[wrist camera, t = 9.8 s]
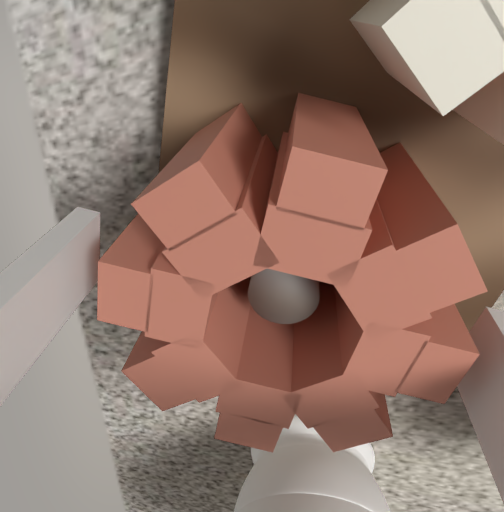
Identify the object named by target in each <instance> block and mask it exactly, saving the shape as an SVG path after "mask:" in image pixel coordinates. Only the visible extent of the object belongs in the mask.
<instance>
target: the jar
mask: <svg viewBox="0 0 504 512" xmlns="http://www.w3.org/2000/svg"><path fill="white" fill-rule="evenodd" d="M251 456H252V460H253V463H254V466H253V467H252V469H251V471H250V472H249V474H248V476H247V477H246V479H245V481H244V483H243V485H242V488H241V490H240V493H239V496H238V498H237V501H236V505H235V508H234V512H390V509H389V506H388V504H387V501H386V499H385V497H384V495H383V492H382V490H381V489H380V487H379V485H378V483H377V481H376V480H375V478H374V477H373V475H372V472H373V468H374V464H375V455H374V451H373V448H372V446H371V444H370V443H367V444H363V445H359V446H355V447H351V448H348V449H344V450H340V451H336V452H333V451H332V450H331V449H330V447H329V446H328V445H327V444H326V443H325V441H324V440H323V439H322V438H321V436H320V435H319V434H318V433H317V432H316V430H315V429H314V428H313V427H312V428H309V429H308V428H307V427H306V426H305V425H304V424H303V422H302V421H301V420H300V419H299V418H298V416H297V415H296V414H295V415H294V417H293V420H292V422H291V425H290V427H289V429H286V428H283V429H282V431H281V434H280V436H279V439H278V441H277V444H276V446H275V449H274V451H273V453H272V452H268V451H264V450H260V449H256V448H252V447H251Z"/></svg>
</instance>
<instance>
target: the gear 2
mask: <svg viewBox="0 0 504 512" xmlns="http://www.w3.org/2000/svg"><path fill="white" fill-rule="evenodd" d="M350 21H351V23H352V24H353V26H354V27H355V28H356V30H357V31H358V33H359V34H360V35H361V37H362V38H363V40H364V41H365V42H366V44H367V45H368V47H369V48H370V49H371V51H372V52H373V54H374V55H375V56H376V58H377V59H378V61H379V62H380V63H381V65H382V66H383V68H384V69H385V71H386V72H387V73H388V74H389V75H391V76H392V77H393V78H395V79H396V80H397V81H398V82H400V83H401V84H402V85H404V86H405V87H406V88H407V89H409V90H410V91H411V92H413V93H414V94H415V95H416V96H418V97H419V98H420V99H422V100H423V101H424V102H425V103H427V104H428V105H429V106H431V107H432V108H433V109H434V110H436V111H437V112H438V113H440V114H441V115H442V116H444V115H446V114H447V113H448V112H450V111H451V110H453V111H455V112H456V113H458V114H459V115H461V116H462V117H464V118H465V119H467V120H468V121H469V122H471V123H472V124H474V125H475V126H477V127H478V128H480V129H481V130H483V131H484V132H486V133H487V134H489V135H490V136H491V137H493V138H494V139H496V140H497V141H499V142H500V143H502V144H503V145H504V0H370V1H369V2H367V3H366V4H365V5H364V6H363V7H362V8H361V9H360V10H359V11H358V12H357V13H356V14H355V15H354V16H353V17H352V18H351V19H350Z"/></svg>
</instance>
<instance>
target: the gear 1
mask: <svg viewBox="0 0 504 512" xmlns="http://www.w3.org/2000/svg"><path fill="white" fill-rule="evenodd" d="M131 205H132V206H133V207H134V208H135V210H136V211H137V212H138V214H137V215H136V217H135V218H134V219H133V220H132V221H131V223H130V224H129V225H128V226H127V227H126V228H125V230H124V231H123V232H122V233H121V234H120V236H119V237H118V238H117V239H116V240H115V242H114V243H113V244H112V245H111V246H110V248H109V249H108V250H107V251H106V252H105V254H104V255H103V256H102V257H101V258H100V259H99V261H98V300H97V320H99V321H103V322H107V323H111V324H115V325H119V326H123V327H128V328H132V329H136V330H140V331H142V332H141V334H140V336H139V338H138V340H137V342H136V344H135V345H134V347H133V349H132V351H131V353H130V355H129V357H128V359H127V361H126V363H125V365H124V367H123V369H122V372H123V373H124V374H125V375H126V376H127V377H128V378H129V379H130V380H131V381H132V382H133V383H134V384H135V385H136V386H137V387H138V388H139V389H140V390H141V391H142V392H143V393H144V394H145V395H146V396H147V397H148V398H149V399H150V400H151V401H152V402H153V403H155V404H156V405H157V406H158V407H159V408H160V409H161V410H162V411H165V410H167V409H170V408H173V407H175V406H178V405H181V404H184V403H186V402H189V401H192V400H194V399H196V400H197V401H198V402H199V403H200V402H202V401H205V400H208V399H211V398H213V397H216V396H219V398H218V402H217V407H216V412H220V414H219V419H218V423H217V428H216V432H215V437H214V439H218V440H222V441H227V442H231V443H235V444H239V445H243V446H247V447H252V448H256V449H260V450H264V451H268V452H272V453H273V451H274V449H275V446H276V444H277V441H278V439H279V436H280V434H281V431H282V429H283V428H286V429H289V427H290V425H291V422H292V420H293V417H294V415H295V414H296V415H297V416H298V418H299V419H300V420H301V421H302V422H303V424H304V425H305V426H306V427H307V428H308V429H309V428H312V427H313V428H314V429H315V430H316V432H317V433H318V434H319V435H320V436H321V438H322V439H323V440H324V441H325V443H326V444H327V445H328V446H329V447H330V449H331V450H332V451H333V452H336V451H340V450H344V449H348V448H351V447H355V446H359V445H363V444H367V443H370V442H374V441H378V440H382V439H385V438H389V437H393V434H392V429H391V424H390V419H389V414H388V409H387V404H386V399H385V395H389V396H393V397H395V396H396V394H397V393H401V394H405V395H409V396H413V397H417V398H421V399H425V400H430V401H434V402H438V403H442V404H445V402H446V401H447V400H448V398H449V397H450V395H451V394H452V393H453V391H454V390H455V388H456V387H457V386H458V384H459V383H460V381H461V380H462V379H463V377H464V376H465V375H466V373H467V372H468V370H469V369H470V368H471V366H472V365H473V363H474V362H475V361H476V359H477V358H478V356H479V355H480V353H479V351H478V349H477V347H476V345H475V343H474V341H473V339H472V337H471V335H470V333H469V331H468V329H467V327H466V325H465V323H464V321H463V319H462V317H461V316H460V314H459V312H458V310H457V308H456V306H455V303H458V302H460V301H463V300H466V299H468V298H471V297H474V296H477V295H479V294H482V293H485V292H487V288H486V286H485V284H484V282H483V279H482V277H481V275H480V273H479V271H478V268H477V266H476V264H475V262H474V259H473V257H472V255H471V253H470V250H469V248H468V246H467V244H466V242H465V239H464V237H463V235H462V233H461V230H460V228H459V226H458V224H457V222H456V221H455V219H454V218H453V217H452V215H451V214H450V212H449V211H448V210H447V208H446V207H445V205H444V204H443V202H442V201H441V200H440V198H439V197H438V195H437V194H436V192H435V191H434V190H433V188H432V187H431V185H430V184H429V183H428V181H427V180H426V178H425V177H424V175H423V174H422V173H421V171H420V170H419V168H418V167H417V166H416V164H415V163H414V161H413V160H412V158H411V157H410V156H409V154H408V153H407V151H406V150H405V148H404V147H403V146H402V144H401V143H400V142H399V143H397V144H396V145H394V146H392V147H390V148H388V149H386V150H384V151H383V152H381V153H379V151H378V149H377V147H376V145H375V143H374V141H373V139H372V137H371V135H370V133H369V131H368V129H367V127H366V125H365V123H364V121H363V119H362V117H361V115H360V113H359V111H358V109H357V107H354V106H350V105H346V104H342V103H338V102H334V101H330V100H326V99H322V98H318V97H314V96H310V95H306V94H302V93H298V97H297V100H296V104H295V108H294V112H293V116H292V120H291V124H290V128H289V132H288V133H287V132H283V134H282V138H281V142H280V146H279V150H278V152H277V151H276V149H275V147H274V146H273V144H272V142H271V141H270V139H269V137H268V136H267V134H266V135H264V136H263V137H262V136H261V134H260V133H259V131H258V129H257V128H256V126H255V124H254V123H253V121H252V120H251V118H250V116H249V115H248V113H247V111H246V110H245V108H244V107H243V105H242V103H240V104H238V105H237V106H235V107H234V108H233V109H231V110H230V111H228V112H227V113H225V114H224V115H222V116H221V117H219V118H218V119H216V120H215V121H213V122H212V123H210V124H209V125H207V126H206V127H204V128H203V129H201V130H200V131H198V132H197V133H195V135H194V136H193V137H192V138H191V139H190V140H189V141H188V142H187V143H186V144H185V145H184V147H183V148H182V149H181V150H180V151H179V152H178V153H177V154H176V155H175V156H174V157H173V159H172V160H171V161H170V162H169V163H168V164H167V165H166V166H165V167H164V168H163V169H162V171H161V172H160V173H159V174H158V175H157V176H156V177H155V178H154V179H153V180H152V181H151V183H150V184H149V185H148V186H147V187H146V188H145V189H144V190H143V191H142V192H141V193H140V195H139V196H138V197H137V198H136V199H135V200H134V201H133V202H132V203H131ZM265 269H271V270H276V271H280V272H284V273H288V274H292V275H296V276H300V277H304V278H308V279H312V280H317V281H319V294H320V299H319V304H318V306H317V308H316V310H315V311H314V312H313V313H312V315H310V316H309V317H308V318H306V319H305V320H302V321H300V322H297V323H293V324H278V323H274V322H270V321H268V320H266V319H264V318H262V317H261V316H260V315H258V314H257V313H256V312H255V311H254V309H253V308H252V306H251V304H250V302H249V299H248V289H249V284H250V280H251V276H252V275H254V274H256V273H259V272H261V271H263V270H265Z"/></svg>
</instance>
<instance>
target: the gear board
mask: <svg viewBox="0 0 504 512" xmlns="http://www.w3.org/2000/svg"><path fill="white" fill-rule="evenodd" d="M369 1H370V0H175V2H174V13H173V24H172V34H171V45H170V56H169V67H168V77H167V88H166V99H165V109H164V120H163V131H162V142H161V152H160V163H159V173H160V172H161V171H162V169H163V168H164V167H165V166H166V165H167V164H168V163H169V162H170V161H171V160H172V159H173V157H174V156H175V155H176V154H177V153H178V152H179V151H180V150H181V149H182V148H183V147H184V145H185V144H186V143H187V142H188V141H189V140H190V139H191V138H192V137H193V136H194V135H195V133H197V132H198V131H200V130H201V129H203V128H204V127H206V126H207V125H209V124H210V123H212V122H213V121H215V120H216V119H218V118H219V117H221V116H222V115H224V114H225V113H227V112H228V111H230V110H231V109H233V108H234V107H235V106H237V105H238V104H240V103H242V105H243V107H244V108H245V110H246V111H247V113H248V115H249V116H250V118H251V120H252V121H253V123H254V124H255V126H256V128H257V129H258V131H259V133H260V134H261V136H262V137H263V136H264V135H266V134H267V136H268V137H269V139H270V141H271V142H272V144H273V146H274V147H275V149H276V151H277V152H278V150H279V146H280V142H281V138H282V134H283V132H287V133H288V132H289V128H290V124H291V120H292V116H293V112H294V108H295V104H296V100H297V97H298V93H302V94H306V95H310V96H314V97H318V98H322V99H326V100H330V101H334V102H338V103H342V104H346V105H350V106H354V107H357V109H358V111H359V113H360V115H361V117H362V119H363V121H364V123H365V125H366V127H367V129H368V131H369V133H370V135H371V137H372V139H373V141H374V143H375V145H376V147H377V149H378V151H379V153H381V152H383V151H384V150H386V149H388V148H390V147H392V146H394V145H396V144H397V143H399V142H400V143H401V144H402V146H403V147H404V148H405V150H406V151H407V153H408V154H409V156H410V157H411V158H412V160H413V161H414V163H415V164H416V166H417V167H418V168H419V170H420V171H421V173H422V174H423V175H424V177H425V178H426V180H427V181H428V183H429V184H430V185H431V187H432V188H433V190H434V191H435V192H436V194H437V195H438V197H439V198H440V200H441V201H442V202H443V204H444V205H445V207H446V208H447V210H448V211H449V212H450V214H451V215H452V217H453V218H454V219H455V221H456V222H457V224H458V226H459V228H460V230H461V233H462V235H463V237H464V239H465V242H466V244H467V246H468V248H469V250H470V253H471V255H472V257H473V259H474V262H475V264H476V266H477V268H478V271H479V273H480V275H481V277H482V279H483V282H484V284H485V286H486V288H487V292H485V293H482V294H479V295H477V296H474V297H471V298H468V299H466V300H463V301H460V302H458V303H455V306H456V308H457V310H458V312H459V314H460V316H461V317H462V319H463V321H464V323H465V325H466V327H467V329H468V331H469V332H470V330H471V329H472V327H473V326H474V324H475V323H476V321H477V320H478V318H479V317H480V315H481V314H482V312H483V311H484V309H485V308H486V307H490V308H492V306H493V305H494V303H495V302H496V300H497V299H498V297H499V296H500V294H501V293H502V292H503V290H504V145H503V144H502V143H500V142H499V141H497V140H496V139H494V138H493V137H491V136H490V135H489V134H487V133H486V132H484V131H483V130H481V129H480V128H478V127H477V126H475V125H474V124H472V123H471V122H469V121H468V120H467V119H465V118H464V117H462V116H461V115H459V114H458V113H456V112H455V111H453V110H451V111H450V112H448V113H447V114H446V115H444V116H442V115H441V114H440V113H438V112H437V111H436V110H434V109H433V108H432V107H431V106H429V105H428V104H427V103H425V102H424V101H423V100H422V99H420V98H419V97H418V96H416V95H415V94H414V93H413V92H411V91H410V90H409V89H407V88H406V87H405V86H404V85H402V84H401V83H400V82H398V81H397V80H396V79H395V78H393V77H392V76H391V75H389V74H388V73H387V72H386V71H385V69H384V68H383V66H382V65H381V63H380V62H379V61H378V59H377V58H376V56H375V55H374V54H373V52H372V51H371V49H370V48H369V47H368V45H367V44H366V42H365V41H364V40H363V38H362V37H361V35H360V34H359V33H358V31H357V30H356V28H355V27H354V26H353V24H352V23H351V21H350V19H351V18H352V17H353V16H354V15H355V14H356V13H357V12H358V11H359V10H360V9H361V8H362V7H363V6H364V5H365V4H366V3H367V2H369ZM248 299H249V302H250V304H251V306H252V308H253V309H254V311H255V312H256V313H257V314H258V315H260V316H261V317H262V318H264V319H266V320H268V321H270V322H274V323H278V324H293V323H297V322H300V321H302V320H305V319H306V318H308V317H309V316H310V315H312V313H313V312H314V311H315V310H316V308H317V306H318V304H319V299H320V294H319V281H317V280H312V279H308V278H304V277H300V276H296V275H292V274H288V273H284V272H280V271H276V270H271V269H265V270H263V271H261V272H259V273H256V274H254V275H252V276H251V280H250V284H249V289H248Z"/></svg>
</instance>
